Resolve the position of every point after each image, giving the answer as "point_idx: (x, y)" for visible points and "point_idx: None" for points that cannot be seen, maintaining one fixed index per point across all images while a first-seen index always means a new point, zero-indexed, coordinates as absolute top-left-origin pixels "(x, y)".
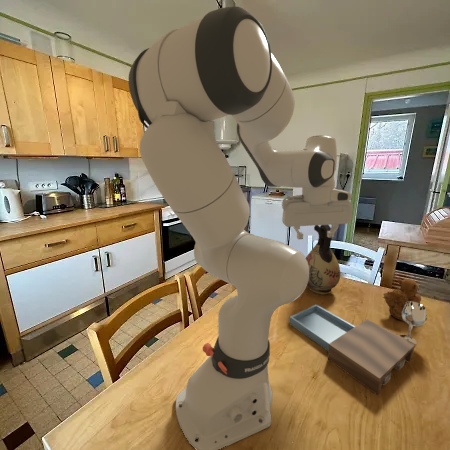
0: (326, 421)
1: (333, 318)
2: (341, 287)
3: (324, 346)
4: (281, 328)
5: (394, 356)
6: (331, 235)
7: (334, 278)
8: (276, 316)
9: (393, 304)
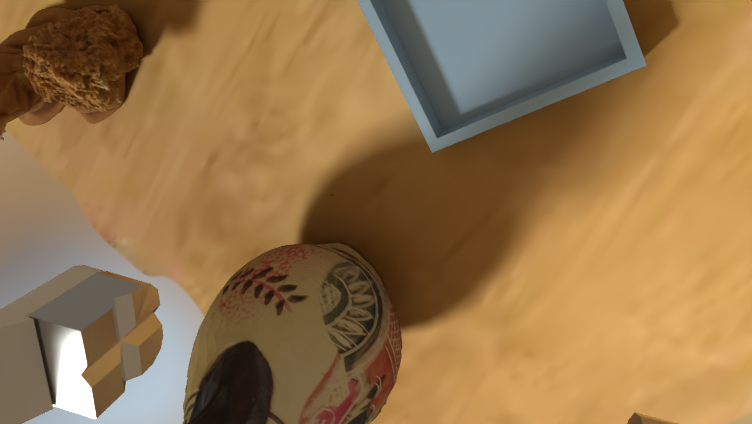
0: None
1: (396, 40)
2: None
3: None
4: (718, 17)
5: None
6: (89, 289)
7: (264, 264)
8: (686, 127)
9: (102, 43)
